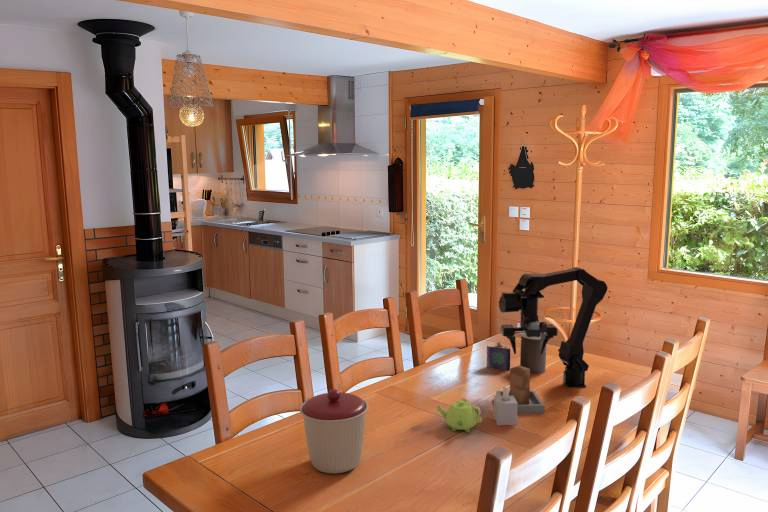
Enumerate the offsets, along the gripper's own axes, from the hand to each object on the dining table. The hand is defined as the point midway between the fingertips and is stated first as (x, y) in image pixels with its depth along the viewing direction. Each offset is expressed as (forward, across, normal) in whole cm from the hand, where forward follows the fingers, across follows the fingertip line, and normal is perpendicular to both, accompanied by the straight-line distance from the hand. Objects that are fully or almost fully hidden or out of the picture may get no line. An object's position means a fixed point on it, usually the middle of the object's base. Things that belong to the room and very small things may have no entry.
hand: (528, 353), depth 215 cm
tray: (+13, -6, -14) cm, 20 cm away
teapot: (+13, -28, -30) cm, 43 cm away
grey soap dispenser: (+13, -13, -26) cm, 32 cm away
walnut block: (+12, -6, -14) cm, 20 cm away
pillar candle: (+13, +7, +20) cm, 25 cm away
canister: (+13, -64, -52) cm, 84 cm away
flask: (+13, -6, +22) cm, 26 cm away
